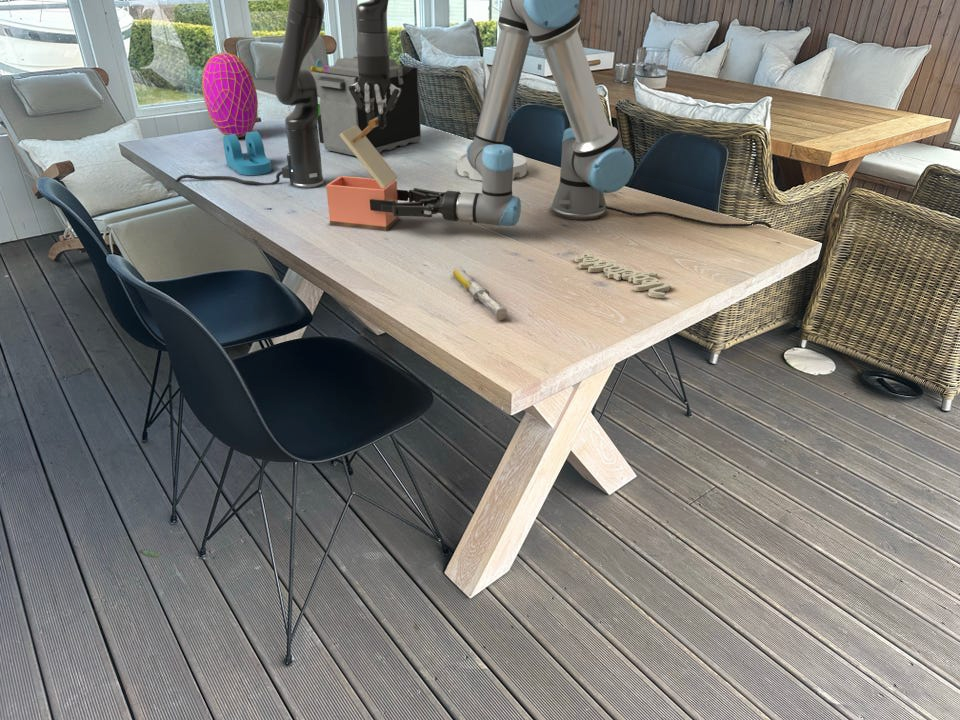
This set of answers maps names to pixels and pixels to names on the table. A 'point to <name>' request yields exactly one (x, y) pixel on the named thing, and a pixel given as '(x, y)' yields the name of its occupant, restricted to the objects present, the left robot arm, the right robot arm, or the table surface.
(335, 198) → the chest
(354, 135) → the lid
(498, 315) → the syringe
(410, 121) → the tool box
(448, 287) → the table surface
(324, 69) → the potted flower
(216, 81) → the decorative egg
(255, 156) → the camera mount
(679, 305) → the table surface
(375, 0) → the left robot arm
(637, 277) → the decorative sign
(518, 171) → the ashtray
